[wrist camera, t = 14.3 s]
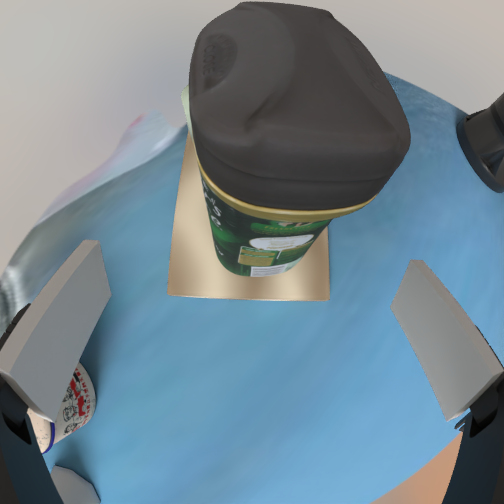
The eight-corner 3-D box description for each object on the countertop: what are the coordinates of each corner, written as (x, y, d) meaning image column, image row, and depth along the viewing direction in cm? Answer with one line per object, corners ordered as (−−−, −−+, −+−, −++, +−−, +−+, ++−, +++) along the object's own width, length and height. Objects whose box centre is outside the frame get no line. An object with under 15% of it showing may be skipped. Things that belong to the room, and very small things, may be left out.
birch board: (312, 121, 30) (315, 113, 28) (324, 301, 25) (329, 299, 23) (195, 112, 29) (194, 104, 27) (170, 295, 24) (167, 294, 22)
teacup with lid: (107, 433, 20) (47, 482, 8) (42, 419, 19) (-23, 446, 7) (90, 318, 22) (10, 311, 11) (27, 316, 21) (-49, 306, 10)
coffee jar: (208, 180, 25) (191, -11, 7) (291, 177, 26) (362, 5, 8) (213, 283, 23) (162, 153, 5) (305, 276, 24) (468, 167, 6)
